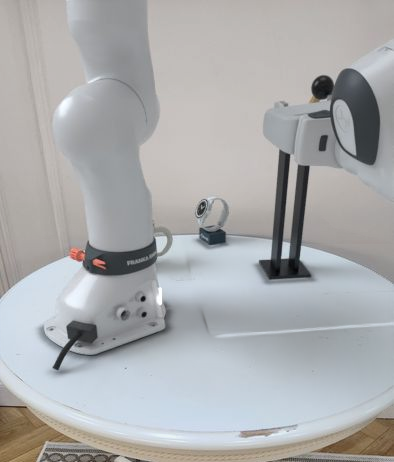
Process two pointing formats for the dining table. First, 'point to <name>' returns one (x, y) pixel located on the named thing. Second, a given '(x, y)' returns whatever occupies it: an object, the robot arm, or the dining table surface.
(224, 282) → the dining table surface
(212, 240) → the watch
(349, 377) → the dining table surface
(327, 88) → the lever
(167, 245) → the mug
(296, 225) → the stand
